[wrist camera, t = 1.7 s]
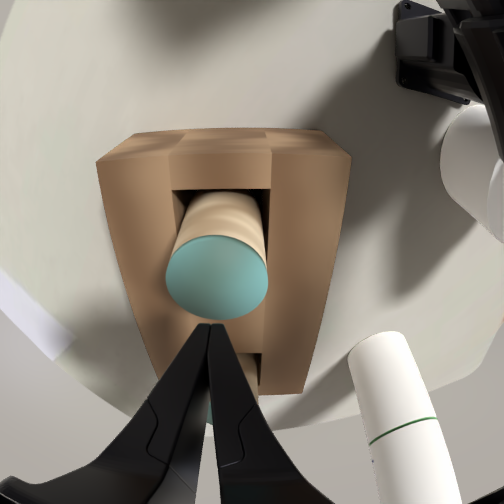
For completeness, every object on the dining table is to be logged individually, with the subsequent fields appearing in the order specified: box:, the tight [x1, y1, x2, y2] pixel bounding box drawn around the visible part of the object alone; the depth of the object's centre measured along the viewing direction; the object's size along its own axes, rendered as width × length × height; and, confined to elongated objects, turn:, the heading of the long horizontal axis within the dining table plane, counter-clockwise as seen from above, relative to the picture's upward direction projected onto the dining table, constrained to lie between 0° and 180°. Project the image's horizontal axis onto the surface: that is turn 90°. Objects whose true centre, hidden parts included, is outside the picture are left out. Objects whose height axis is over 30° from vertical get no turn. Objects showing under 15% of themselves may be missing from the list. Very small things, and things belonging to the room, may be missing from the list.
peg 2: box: [206, 353, 258, 425], centre depth 21 cm, size 4×4×6 cm
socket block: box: [96, 128, 352, 395], centre depth 21 cm, size 12×20×6 cm, turn 179°
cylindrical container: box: [347, 331, 462, 504], centre depth 21 cm, size 7×7×25 cm
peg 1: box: [166, 189, 268, 320], centre depth 14 cm, size 4×4×6 cm
